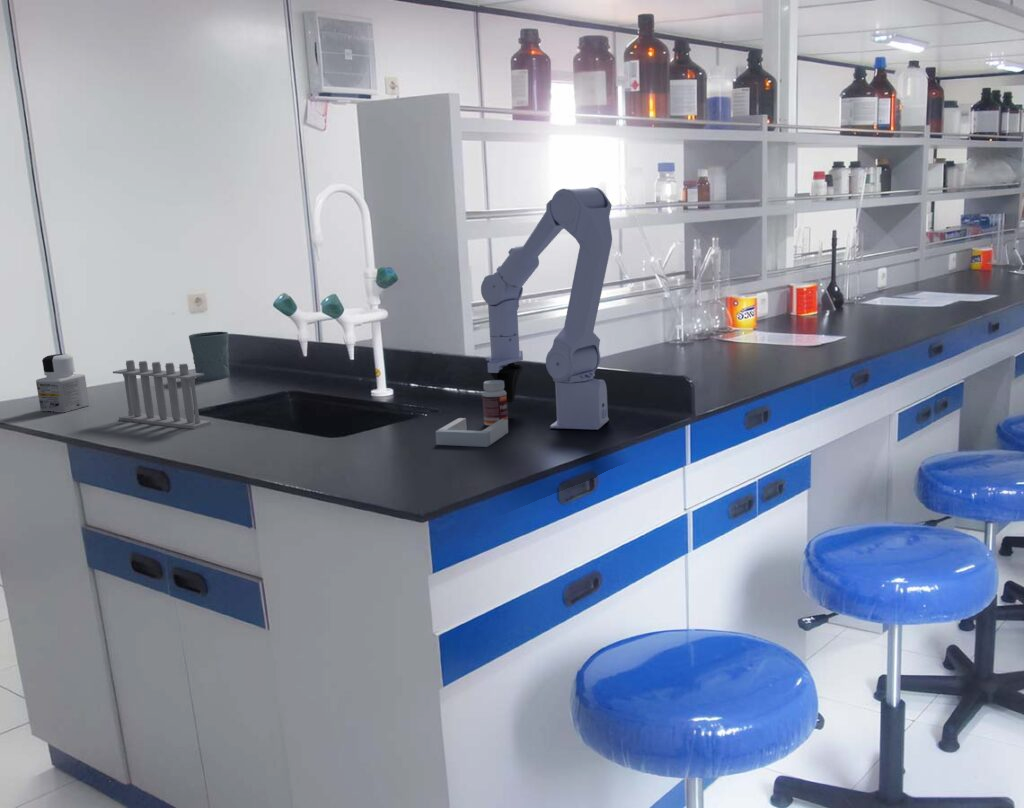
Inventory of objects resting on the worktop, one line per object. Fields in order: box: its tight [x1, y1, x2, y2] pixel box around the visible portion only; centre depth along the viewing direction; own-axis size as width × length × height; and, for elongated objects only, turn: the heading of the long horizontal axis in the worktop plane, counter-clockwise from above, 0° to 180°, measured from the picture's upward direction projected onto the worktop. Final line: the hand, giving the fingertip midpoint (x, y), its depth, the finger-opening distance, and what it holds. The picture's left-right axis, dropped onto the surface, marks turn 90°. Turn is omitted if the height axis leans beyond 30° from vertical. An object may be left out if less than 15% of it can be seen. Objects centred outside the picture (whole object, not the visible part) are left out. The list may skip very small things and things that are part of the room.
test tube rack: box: [112, 359, 212, 430], centre depth 203 cm, size 25×4×13 cm, turn 58°
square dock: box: [435, 417, 509, 448], centre depth 175 cm, size 10×10×2 cm
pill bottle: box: [481, 379, 509, 427], centre depth 185 cm, size 5×5×8 cm
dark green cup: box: [188, 331, 230, 382], centre depth 257 cm, size 10×10×12 cm
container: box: [35, 353, 90, 413], centre depth 224 cm, size 8×8×13 cm
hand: (507, 401), depth 191 cm, fingers closed
